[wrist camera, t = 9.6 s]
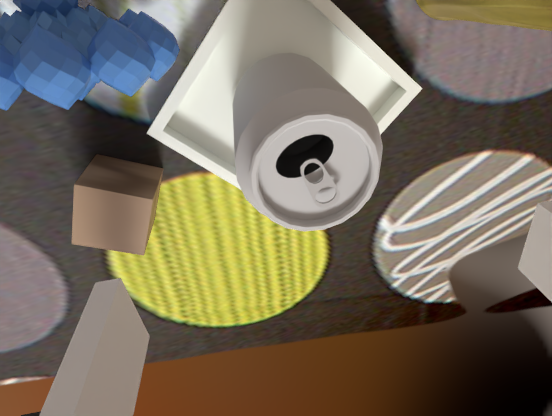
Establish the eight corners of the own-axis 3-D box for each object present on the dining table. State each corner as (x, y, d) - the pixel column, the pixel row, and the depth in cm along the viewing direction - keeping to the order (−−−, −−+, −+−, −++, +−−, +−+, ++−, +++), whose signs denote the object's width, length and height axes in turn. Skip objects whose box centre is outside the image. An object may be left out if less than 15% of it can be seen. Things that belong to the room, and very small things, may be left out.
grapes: (176, -49, 22) (133, -71, 12) (195, 69, 26) (175, 127, 16) (-26, -36, 21) (-255, -49, 11) (23, 83, 25) (-115, 155, 15)
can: (305, 28, 24) (360, 61, 14) (348, 121, 28) (416, 199, 18) (211, 86, 26) (201, 155, 16) (264, 168, 30) (284, 266, 19)
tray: (151, 123, 27) (146, 133, 26) (262, -59, 22) (266, -62, 21) (295, 211, 33) (298, 223, 31) (410, 81, 28) (422, 88, 26)
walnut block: (92, 207, 31) (71, 243, 26) (96, 153, 28) (74, 184, 24) (154, 218, 32) (143, 255, 28) (163, 168, 29) (153, 199, 25)
